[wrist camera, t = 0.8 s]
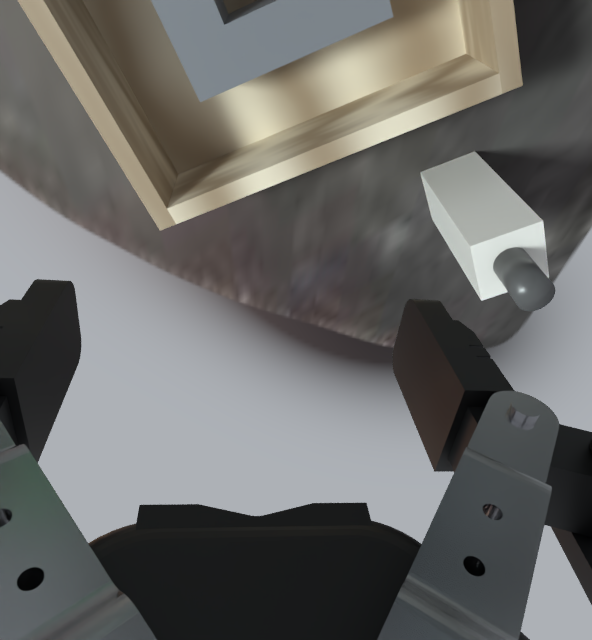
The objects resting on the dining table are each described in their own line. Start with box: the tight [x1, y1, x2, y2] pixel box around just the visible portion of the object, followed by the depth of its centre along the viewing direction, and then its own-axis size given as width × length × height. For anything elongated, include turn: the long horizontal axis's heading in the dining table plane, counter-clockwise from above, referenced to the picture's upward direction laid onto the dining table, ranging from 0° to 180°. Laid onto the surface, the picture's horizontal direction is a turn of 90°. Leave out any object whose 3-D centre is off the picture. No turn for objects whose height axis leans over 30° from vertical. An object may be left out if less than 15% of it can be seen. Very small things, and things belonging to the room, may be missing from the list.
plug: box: [420, 151, 555, 311], centre depth 29 cm, size 4×4×13 cm
